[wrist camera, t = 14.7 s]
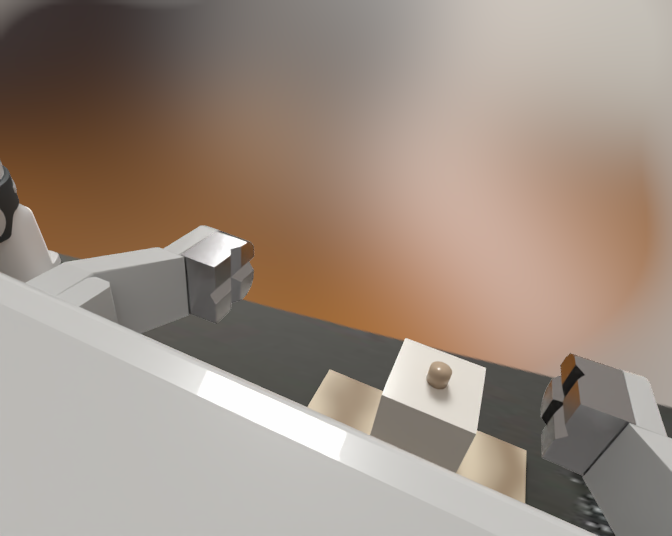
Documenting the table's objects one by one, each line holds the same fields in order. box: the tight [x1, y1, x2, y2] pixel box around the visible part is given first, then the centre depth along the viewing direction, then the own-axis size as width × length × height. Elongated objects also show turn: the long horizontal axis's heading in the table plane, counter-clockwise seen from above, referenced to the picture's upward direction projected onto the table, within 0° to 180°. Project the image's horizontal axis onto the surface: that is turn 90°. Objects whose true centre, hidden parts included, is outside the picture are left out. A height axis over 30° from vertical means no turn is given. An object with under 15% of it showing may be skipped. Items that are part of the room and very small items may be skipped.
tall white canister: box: [370, 338, 486, 473], centre depth 33 cm, size 7×7×11 cm
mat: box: [307, 370, 526, 503], centre depth 36 cm, size 20×14×1 cm
